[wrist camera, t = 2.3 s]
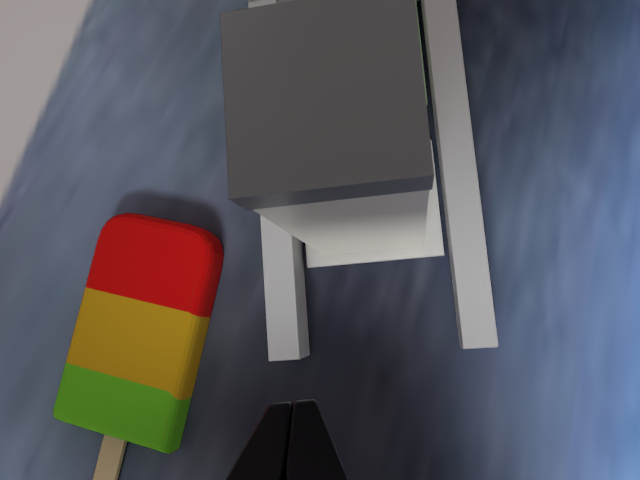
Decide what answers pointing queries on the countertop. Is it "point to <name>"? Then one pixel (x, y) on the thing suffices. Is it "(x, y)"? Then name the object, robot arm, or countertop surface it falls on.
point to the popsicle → (140, 335)
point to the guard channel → (459, 210)
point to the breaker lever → (329, 121)
